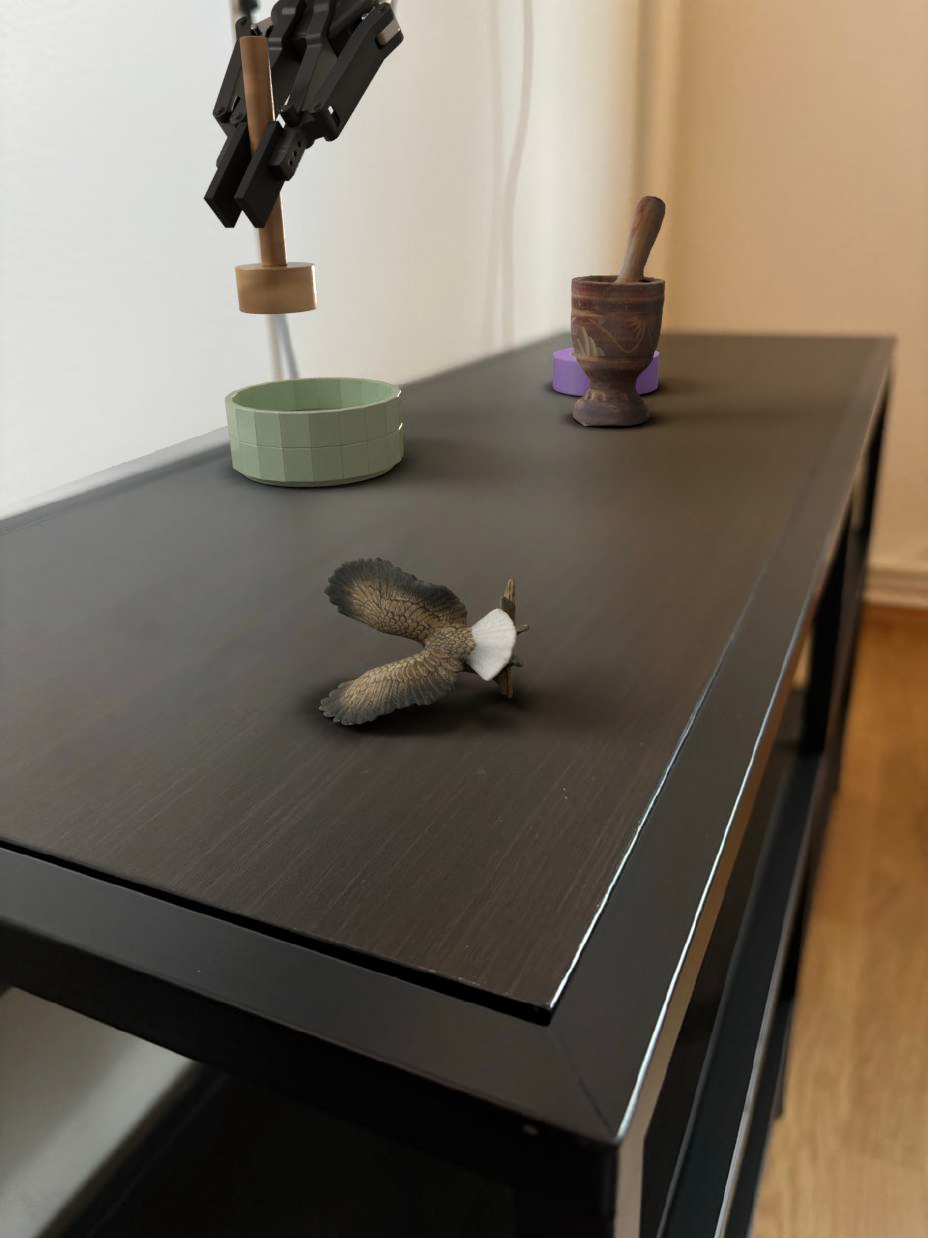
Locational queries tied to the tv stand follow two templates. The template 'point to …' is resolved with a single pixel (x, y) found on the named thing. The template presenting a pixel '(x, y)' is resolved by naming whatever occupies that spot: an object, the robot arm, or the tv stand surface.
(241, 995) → the tv stand surface
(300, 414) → the bowl
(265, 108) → the wooden peg stand
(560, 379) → the tape roll
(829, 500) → the tv stand surface
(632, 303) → the mortar and pestle
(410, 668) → the eagle figurine
